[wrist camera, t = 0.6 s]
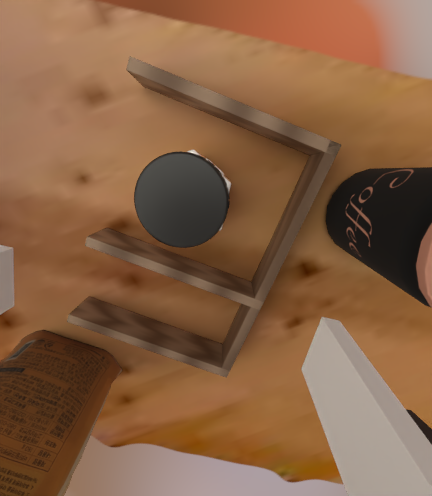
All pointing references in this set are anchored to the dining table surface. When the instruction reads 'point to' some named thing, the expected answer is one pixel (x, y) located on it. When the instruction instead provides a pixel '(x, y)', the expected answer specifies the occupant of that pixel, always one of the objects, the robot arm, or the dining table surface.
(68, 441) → the pancake mix bag
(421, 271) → the coffee jar
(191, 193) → the jar
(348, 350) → the robot arm
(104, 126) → the dining table surface
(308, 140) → the lane organizer
